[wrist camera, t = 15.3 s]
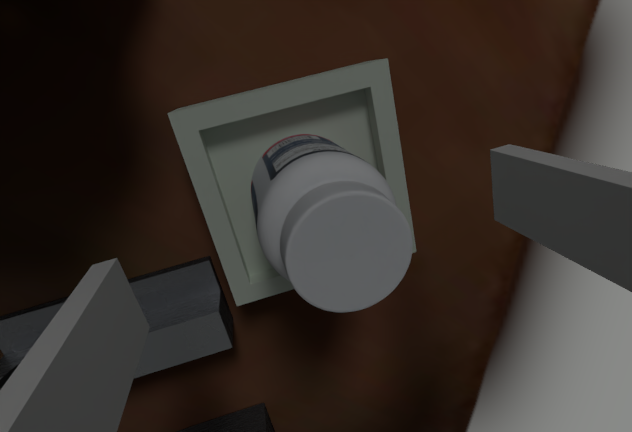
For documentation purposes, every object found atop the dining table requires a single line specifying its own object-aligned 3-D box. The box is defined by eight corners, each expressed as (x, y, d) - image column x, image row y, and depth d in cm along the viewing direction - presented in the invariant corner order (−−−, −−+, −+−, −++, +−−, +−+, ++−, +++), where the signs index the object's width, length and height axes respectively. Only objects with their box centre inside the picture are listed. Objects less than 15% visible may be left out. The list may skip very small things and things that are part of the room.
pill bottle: (325, 246, 21) (382, 351, 13) (234, 212, 20) (232, 307, 11) (369, 157, 20) (463, 211, 12) (276, 113, 18) (309, 139, 10)
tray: (236, 279, 23) (236, 306, 20) (177, 108, 19) (167, 113, 17) (395, 231, 24) (416, 251, 21) (367, 61, 20) (387, 58, 18)
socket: (111, 505, 27) (98, 551, 24) (-9, 318, 21) (-44, 352, 18) (280, 447, 28) (285, 485, 25) (209, 255, 22) (206, 279, 20)
